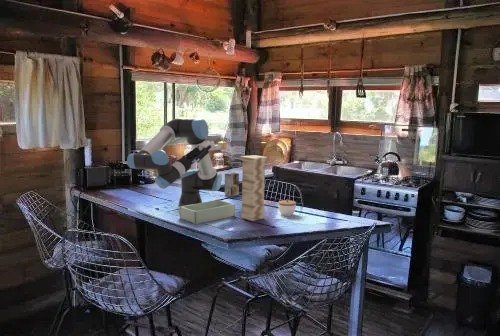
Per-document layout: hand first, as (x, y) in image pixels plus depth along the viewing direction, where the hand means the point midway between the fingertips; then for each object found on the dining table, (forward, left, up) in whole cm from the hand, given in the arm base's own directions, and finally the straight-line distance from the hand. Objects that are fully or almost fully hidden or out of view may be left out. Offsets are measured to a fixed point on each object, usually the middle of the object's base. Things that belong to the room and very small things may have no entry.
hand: (211, 142), depth 228 cm
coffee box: (-68, +18, -44) cm, 84 cm away
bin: (-7, -2, -44) cm, 45 cm away
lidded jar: (-9, +46, -44) cm, 65 cm away
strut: (-1, +1, -4) cm, 4 cm away
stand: (-3, +24, -44) cm, 50 cm away
